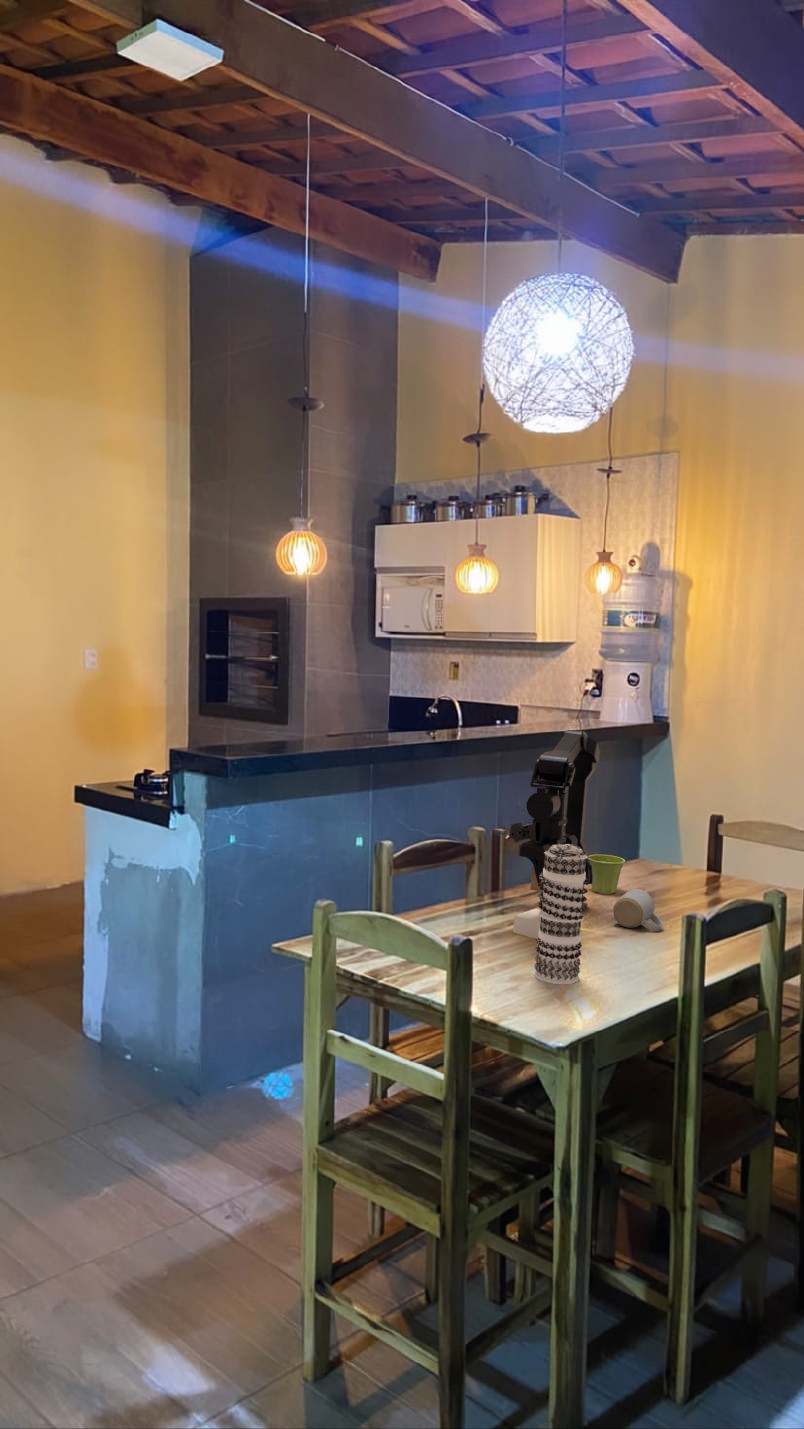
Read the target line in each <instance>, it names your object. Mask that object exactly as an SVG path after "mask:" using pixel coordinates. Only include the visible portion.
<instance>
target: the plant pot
mask: <svg viewBox="0 0 804 1429" xmlns="http://www.w3.org/2000/svg"><path fill="white" fill-rule="evenodd" d="M589 860H590V861H591V865H592V870H593V884H591V891H592V892H594V893H596V892H597V893H598V894H601V895H612V894H616V893H617V888H618V884H619V880H620V875H621V873H622V872H621V871H622V868H623V866H624V864H625V863H626V860H625V859H624V858H622V857H619V856H615V855H611V854H610V855H609V854H591V855H590V854H589Z"/></svg>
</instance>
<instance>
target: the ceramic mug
mask: <svg viewBox="0 0 804 1429" xmlns="http://www.w3.org/2000/svg"><path fill="white" fill-rule="evenodd" d="M612 911H613V918H614V919H615V921H616V922H617V923H618V925H619V926H622V927H624V928H627V929H634V928H637V927H640V926H643V927H644V928H646V929H647V930H650V931H652V932H659V931H661V929H662V928H663V925H664V923H663V921H662V920H661V918H659V917H658V915H657V914H655V913H654V912H655V903H654V900H653V899H652V897H651V895H650V894H649V893H648V892H647V891H645V890H643V889H640V888H633V889H629V890H628V891H626V892H625V893H624V894H623V895H622V896H621V897H619V899H617V900H616V902H615V904H614V906H613V910H612ZM649 920H651V921H652V922H654V924H653V923H651V922H650V921H649Z"/></svg>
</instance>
